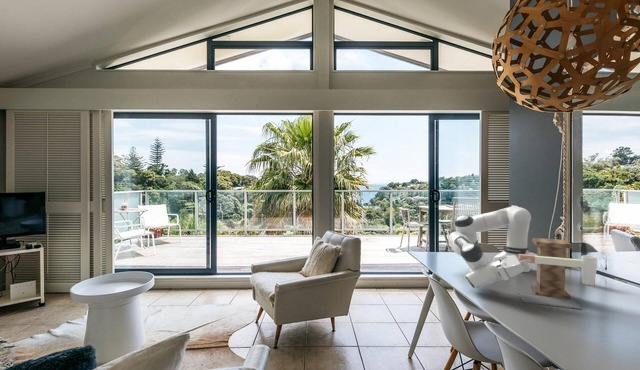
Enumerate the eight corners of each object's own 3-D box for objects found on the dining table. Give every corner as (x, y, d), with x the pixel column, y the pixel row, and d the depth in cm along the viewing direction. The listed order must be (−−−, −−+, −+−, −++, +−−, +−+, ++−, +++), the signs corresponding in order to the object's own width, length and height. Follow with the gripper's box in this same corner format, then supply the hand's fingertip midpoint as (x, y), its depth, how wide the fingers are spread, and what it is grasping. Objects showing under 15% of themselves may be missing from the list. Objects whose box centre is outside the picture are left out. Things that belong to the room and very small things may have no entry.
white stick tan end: (519, 261, 156) (519, 255, 156) (518, 260, 159) (518, 253, 159) (582, 267, 146) (582, 260, 146) (580, 266, 149) (580, 258, 149)
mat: (523, 302, 152) (523, 300, 152) (519, 294, 163) (519, 293, 163) (582, 309, 144) (582, 308, 144) (574, 301, 154) (574, 300, 154)
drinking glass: (599, 287, 174) (600, 258, 174) (584, 286, 175) (585, 257, 175) (591, 282, 181) (592, 255, 180) (577, 282, 182) (578, 254, 182)
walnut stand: (535, 295, 161) (536, 241, 161) (531, 287, 172) (532, 237, 172) (570, 299, 156) (572, 244, 155) (563, 291, 167) (564, 240, 166)
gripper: (501, 270, 170) (529, 259, 165) (506, 281, 151) (537, 269, 146) (495, 258, 171) (522, 247, 166) (498, 268, 152) (529, 256, 147)
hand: (529, 258), depth 156 cm, fingers closed on white stick tan end, 3 cm apart
